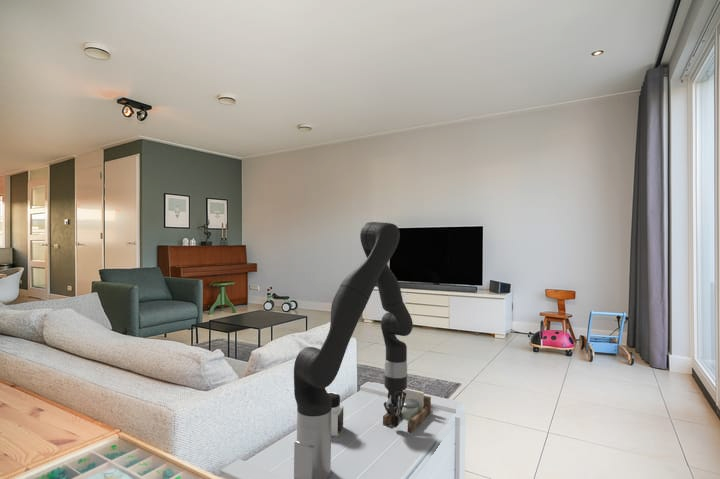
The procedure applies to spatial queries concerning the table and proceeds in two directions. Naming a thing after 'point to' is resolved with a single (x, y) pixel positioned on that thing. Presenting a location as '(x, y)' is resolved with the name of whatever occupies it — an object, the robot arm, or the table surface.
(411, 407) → the jar
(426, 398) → the lane
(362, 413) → the table surface
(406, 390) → the pusher plate
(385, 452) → the table surface
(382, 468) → the table surface
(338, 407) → the medicine bottle
